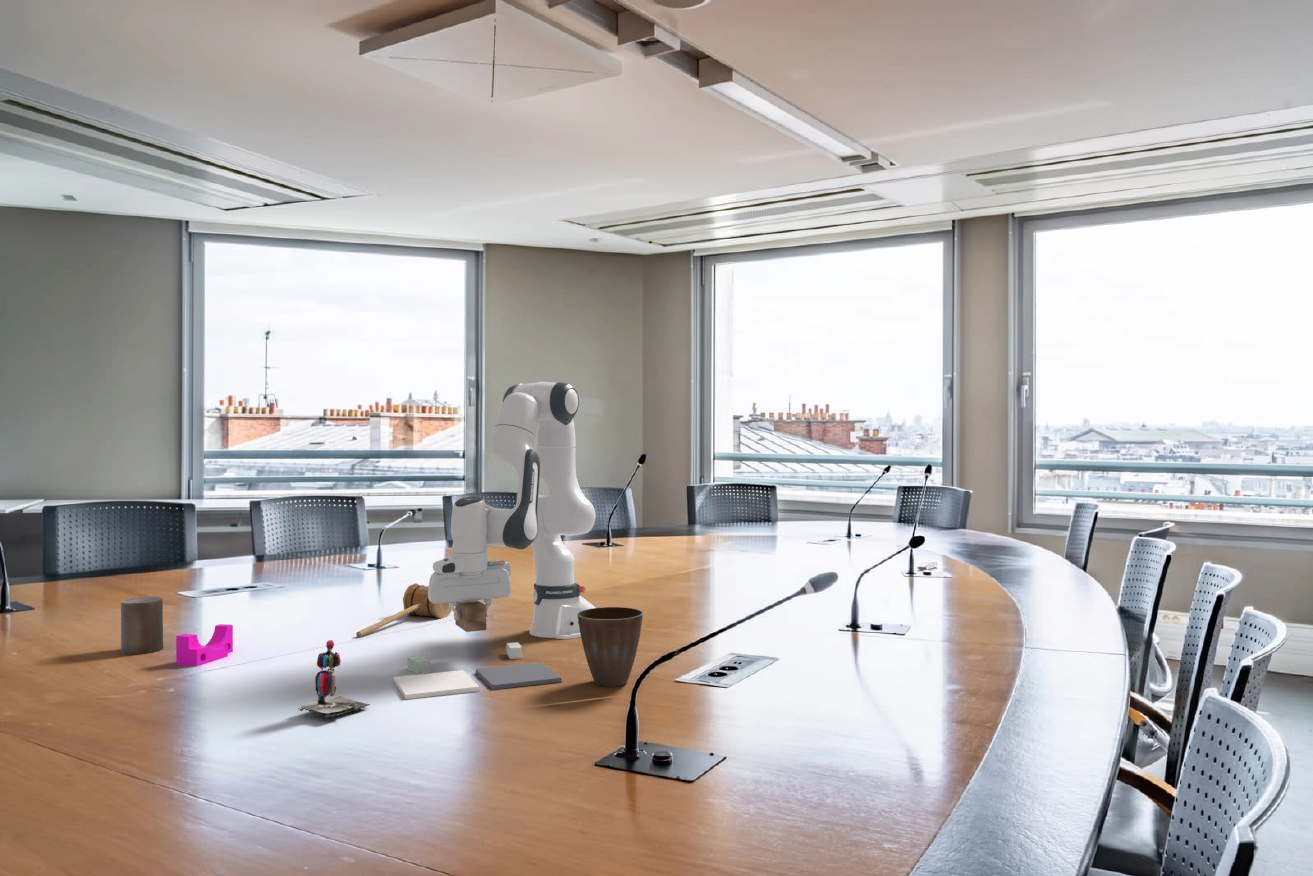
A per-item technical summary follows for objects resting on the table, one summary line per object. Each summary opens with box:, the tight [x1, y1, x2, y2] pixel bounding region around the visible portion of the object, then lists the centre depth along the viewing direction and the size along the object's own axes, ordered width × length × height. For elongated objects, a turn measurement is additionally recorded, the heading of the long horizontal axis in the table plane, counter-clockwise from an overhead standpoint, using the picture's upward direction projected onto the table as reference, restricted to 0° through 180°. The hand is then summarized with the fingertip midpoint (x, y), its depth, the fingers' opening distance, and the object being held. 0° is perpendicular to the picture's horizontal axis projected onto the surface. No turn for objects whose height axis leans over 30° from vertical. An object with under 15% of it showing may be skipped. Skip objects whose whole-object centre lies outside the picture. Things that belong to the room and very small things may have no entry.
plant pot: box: [577, 606, 644, 688], centre depth 218 cm, size 15×15×16 cm
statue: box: [297, 639, 371, 718], centre depth 195 cm, size 11×9×15 cm
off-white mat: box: [393, 669, 480, 700], centre depth 215 cm, size 16×16×1 cm
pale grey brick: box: [506, 641, 523, 660], centre depth 244 cm, size 6×3×3 cm, turn 17°
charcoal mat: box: [475, 661, 562, 691], centre depth 223 cm, size 16×16×1 cm
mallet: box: [355, 583, 453, 638], centre depth 281 cm, size 12×38×10 cm, turn 158°
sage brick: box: [406, 655, 430, 675], centre depth 229 cm, size 6×3×3 cm, turn 37°
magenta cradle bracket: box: [175, 623, 234, 667], centre depth 240 cm, size 15×6×8 cm, turn 163°
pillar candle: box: [120, 594, 164, 656], centre depth 248 cm, size 10×10×15 cm
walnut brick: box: [454, 600, 487, 633], centre depth 237 cm, size 5×10×6 cm, turn 27°
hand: (470, 618), depth 237 cm, fingers closed on walnut brick, 5 cm apart
